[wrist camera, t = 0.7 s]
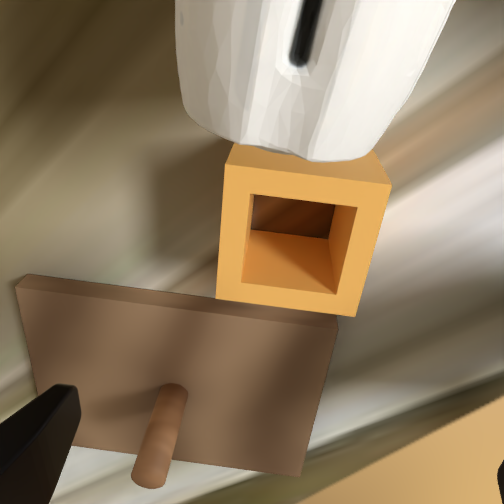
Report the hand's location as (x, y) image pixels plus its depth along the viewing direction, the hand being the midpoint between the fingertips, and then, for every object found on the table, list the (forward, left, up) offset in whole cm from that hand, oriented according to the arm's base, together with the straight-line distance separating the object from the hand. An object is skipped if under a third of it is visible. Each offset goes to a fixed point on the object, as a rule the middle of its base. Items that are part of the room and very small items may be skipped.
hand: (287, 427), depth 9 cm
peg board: (+5, +12, -12) cm, 17 cm away
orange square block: (0, 0, -12) cm, 12 cm away
